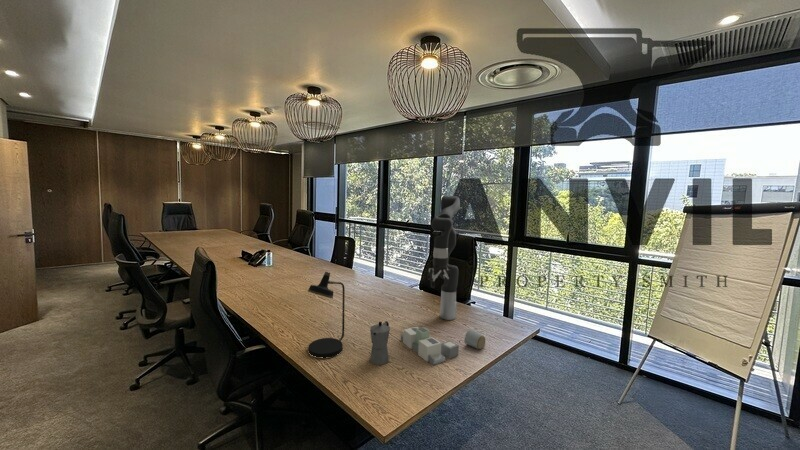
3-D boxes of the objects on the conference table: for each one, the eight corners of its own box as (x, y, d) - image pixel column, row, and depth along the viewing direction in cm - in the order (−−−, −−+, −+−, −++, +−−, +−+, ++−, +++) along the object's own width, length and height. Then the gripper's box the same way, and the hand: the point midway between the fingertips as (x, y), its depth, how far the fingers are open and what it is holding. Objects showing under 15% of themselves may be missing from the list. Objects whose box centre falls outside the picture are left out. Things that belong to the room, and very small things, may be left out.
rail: (411, 336, 167) (411, 331, 167) (445, 361, 143) (445, 355, 143) (400, 339, 164) (400, 334, 163) (433, 365, 140) (433, 358, 140)
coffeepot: (382, 369, 135) (383, 329, 133) (363, 364, 139) (364, 325, 137) (396, 353, 149) (397, 316, 148) (378, 349, 153) (379, 313, 151)
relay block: (448, 350, 154) (449, 340, 154) (458, 355, 150) (458, 345, 149) (440, 353, 150) (440, 343, 150) (449, 359, 146) (450, 348, 145)
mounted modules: (416, 339, 164) (416, 326, 164) (440, 357, 147) (441, 342, 146) (403, 342, 160) (403, 329, 159) (426, 361, 143) (427, 346, 142)
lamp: (298, 353, 147) (298, 272, 143) (332, 336, 165) (333, 264, 161) (323, 364, 138) (323, 278, 134) (355, 345, 156) (357, 269, 153)
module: (423, 342, 157) (423, 326, 156) (429, 346, 153) (429, 330, 152) (415, 344, 155) (416, 328, 154) (421, 348, 150) (422, 332, 150)
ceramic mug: (477, 352, 153) (478, 336, 152) (463, 345, 159) (464, 331, 158) (489, 345, 160) (490, 331, 160) (475, 339, 166) (476, 325, 166)
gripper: (446, 254, 169) (445, 283, 170) (425, 256, 161) (423, 286, 163) (455, 256, 162) (454, 287, 164) (434, 258, 155) (432, 290, 156)
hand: (439, 286), depth 163 cm, fingers open, 8 cm apart
